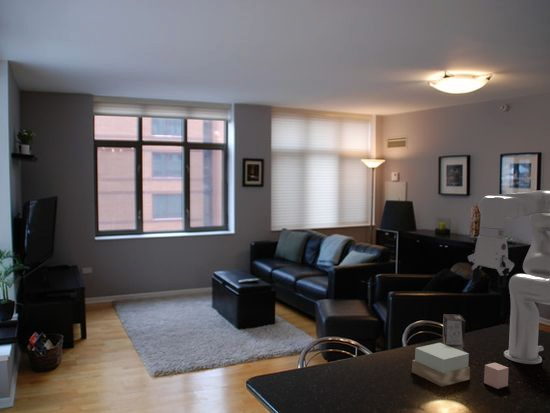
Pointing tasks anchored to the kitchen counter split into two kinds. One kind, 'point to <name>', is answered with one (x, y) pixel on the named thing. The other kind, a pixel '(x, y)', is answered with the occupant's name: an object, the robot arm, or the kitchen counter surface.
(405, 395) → the kitchen counter surface
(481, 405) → the kitchen counter surface
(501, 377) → the pink block
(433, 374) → the tower base
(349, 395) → the kitchen counter surface
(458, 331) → the coffee box
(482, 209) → the robot arm
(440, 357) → the tower top
